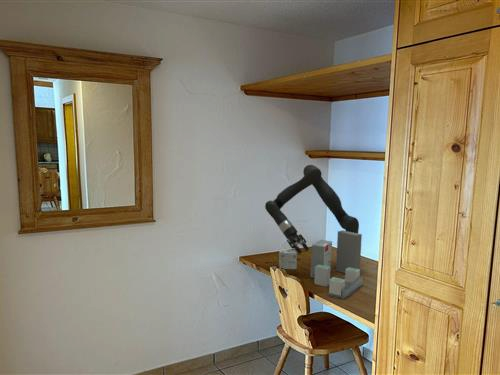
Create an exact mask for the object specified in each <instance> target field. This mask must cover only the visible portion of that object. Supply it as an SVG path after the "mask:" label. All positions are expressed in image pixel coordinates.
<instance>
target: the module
mask: <svg viewBox="0 0 500 375" xmlns="http://www.w3.org/2000/svg"><path fill="white" fill-rule="evenodd" d="M330 279H331V273H330V267H328V266H324V265H317V266H315V278H314V279H313V280H314V283H313V284H314V285H317V286H321V287H324V288H325V287H326V288H327V287H328V286H329V284H330Z"/></svg>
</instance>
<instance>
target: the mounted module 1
mask: <svg viewBox="0 0 500 375" xmlns="http://www.w3.org/2000/svg"><path fill="white" fill-rule="evenodd" d="M328 286H329V288H328V290H329V291H328V292H329V293H333V294H336V295H340V296H341V295H342V290H343V289H345V278H339V277H335V276H333V277H332V278H331V277H330V284H329V285H328Z"/></svg>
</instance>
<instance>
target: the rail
mask: <svg viewBox="0 0 500 375" xmlns="http://www.w3.org/2000/svg"><path fill="white" fill-rule="evenodd" d="M363 278H364V277H363V276H360V277H359V278H358V279H357V280H356V281H354V282H353V283H349V282H345V289H343V290H342V295H341V296H340V295H336V294H333V293H329V291H328V292H327V296H330V297H334V298H338V299H341V300H345V299H347V298H348V297H349V296H351V295H352V294H353V293H354V292H356V291H357V290H358V289H359V288H360V287H362V286H363V282H364V281H363V280H364V279H363Z"/></svg>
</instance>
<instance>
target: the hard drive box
mask: <svg viewBox="0 0 500 375" xmlns="http://www.w3.org/2000/svg"><path fill="white" fill-rule="evenodd" d="M332 250H333V241H331V240H324V239H319V240H318V241H317V242H315V243H313V244H312V245H311V262H310V264H311V265H310V278H311V279H315V266H317V265H324V266H328V267H330V274H331V270H332V254H333V253H332V252H333V251H332Z"/></svg>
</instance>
